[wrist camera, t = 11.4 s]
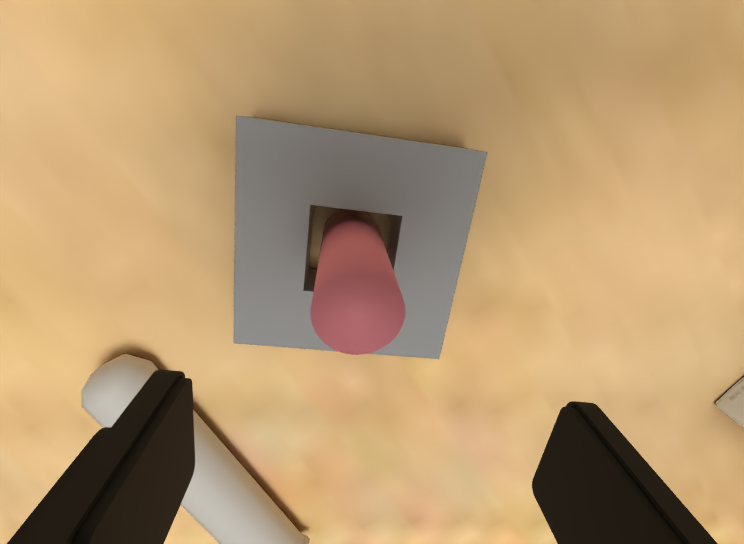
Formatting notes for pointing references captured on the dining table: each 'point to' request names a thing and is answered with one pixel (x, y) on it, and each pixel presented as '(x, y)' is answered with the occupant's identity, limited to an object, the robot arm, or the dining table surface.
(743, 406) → the tea box
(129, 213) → the dining table surface
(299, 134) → the socket block
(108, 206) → the dining table surface
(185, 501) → the tube
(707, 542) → the robot arm
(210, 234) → the dining table surface
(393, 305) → the peg
